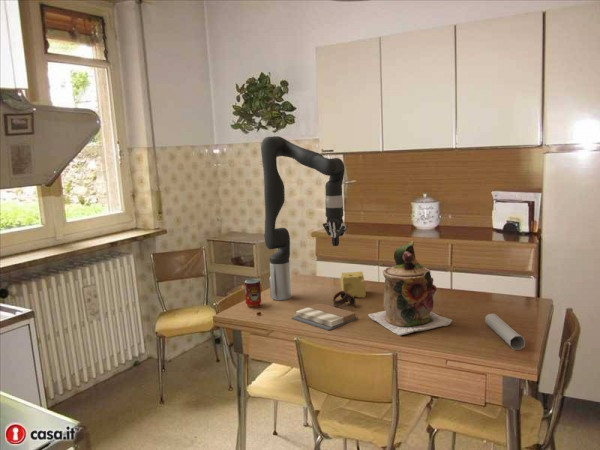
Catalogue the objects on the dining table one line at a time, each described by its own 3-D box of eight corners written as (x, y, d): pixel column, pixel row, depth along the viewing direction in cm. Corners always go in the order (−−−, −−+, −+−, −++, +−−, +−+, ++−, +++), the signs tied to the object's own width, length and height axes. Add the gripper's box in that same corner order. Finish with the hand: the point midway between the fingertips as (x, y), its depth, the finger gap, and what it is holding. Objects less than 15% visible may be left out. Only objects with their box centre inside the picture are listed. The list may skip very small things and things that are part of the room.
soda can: (249, 309, 222) (247, 282, 220) (243, 305, 228) (242, 279, 227) (263, 306, 225) (262, 280, 223) (258, 302, 231) (256, 276, 230)
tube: (480, 314, 191) (507, 338, 167) (494, 309, 191) (522, 333, 166) (485, 326, 192) (512, 352, 167) (498, 321, 192) (527, 347, 167)
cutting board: (291, 318, 207) (291, 312, 207) (320, 308, 219) (319, 302, 218) (328, 330, 192) (328, 324, 192) (357, 318, 204) (357, 312, 203)
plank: (296, 315, 208) (296, 311, 208) (308, 311, 213) (307, 307, 213) (331, 326, 194) (331, 321, 193) (343, 322, 198) (343, 317, 198)
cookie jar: (365, 317, 204) (363, 241, 199) (415, 307, 214) (414, 234, 209) (400, 338, 182) (399, 252, 177) (454, 325, 191) (454, 243, 186)
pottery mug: (359, 310, 215) (349, 296, 212) (339, 319, 217) (330, 306, 214) (356, 295, 226) (348, 282, 223) (338, 304, 228) (329, 291, 225)
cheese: (365, 297, 231) (365, 276, 229) (342, 298, 231) (341, 277, 229) (363, 291, 241) (362, 270, 239) (340, 292, 241) (340, 271, 240)
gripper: (317, 205, 214) (318, 245, 217) (339, 208, 204) (341, 249, 207) (329, 203, 219) (330, 242, 222) (351, 205, 209) (353, 246, 212)
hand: (335, 245), depth 214 cm, fingers closed
